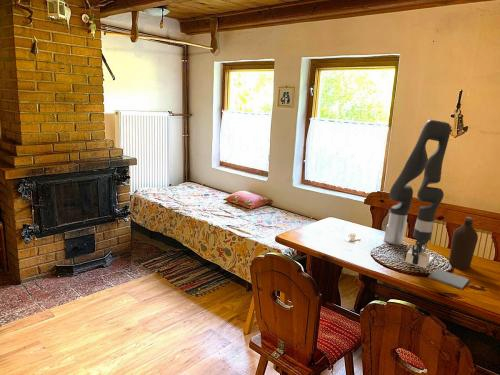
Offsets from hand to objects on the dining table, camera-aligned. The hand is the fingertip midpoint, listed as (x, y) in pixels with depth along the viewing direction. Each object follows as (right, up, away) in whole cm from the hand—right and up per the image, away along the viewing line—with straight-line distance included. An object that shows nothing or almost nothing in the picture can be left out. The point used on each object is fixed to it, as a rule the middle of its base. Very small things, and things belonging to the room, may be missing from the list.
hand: (416, 262), depth 177 cm
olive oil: (+25, -3, +9) cm, 27 cm away
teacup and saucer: (-20, +5, +30) cm, 36 cm away
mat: (+11, -6, -8) cm, 15 cm away
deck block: (0, -1, 0) cm, 1 cm away
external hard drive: (+8, -2, +12) cm, 15 cm away
